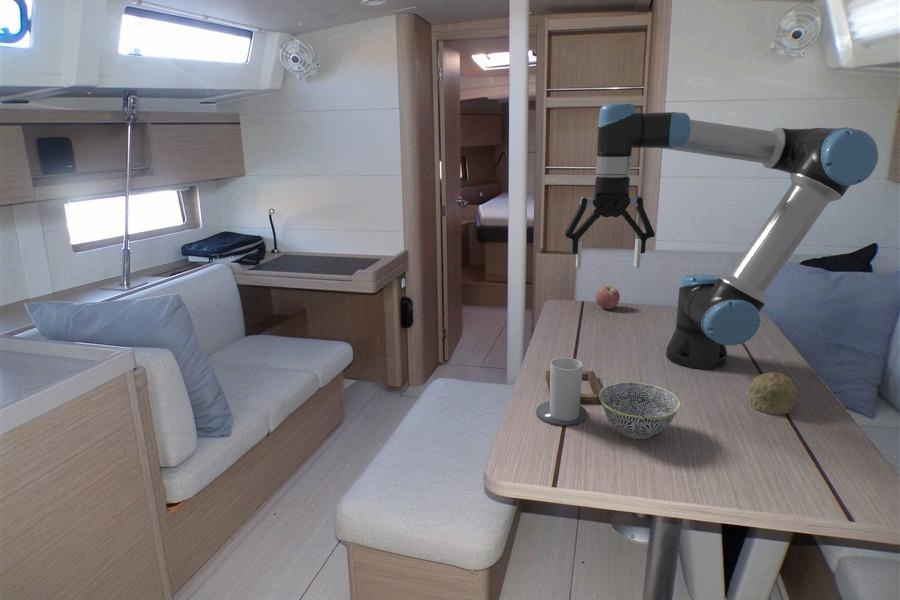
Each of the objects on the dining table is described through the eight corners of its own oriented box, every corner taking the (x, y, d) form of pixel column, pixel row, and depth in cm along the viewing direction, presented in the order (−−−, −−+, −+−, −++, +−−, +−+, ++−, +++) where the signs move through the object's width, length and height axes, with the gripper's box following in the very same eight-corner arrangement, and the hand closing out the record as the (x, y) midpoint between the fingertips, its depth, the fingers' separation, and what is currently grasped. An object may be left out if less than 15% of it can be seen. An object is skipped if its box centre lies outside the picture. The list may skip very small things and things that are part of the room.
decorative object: (760, 429, 131) (792, 403, 125) (730, 391, 137) (759, 365, 130) (783, 422, 136) (816, 397, 130) (753, 386, 142) (783, 360, 135)
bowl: (666, 459, 114) (670, 423, 112) (586, 437, 122) (587, 404, 120) (684, 424, 127) (688, 391, 124) (610, 407, 135) (612, 376, 133)
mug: (581, 422, 127) (584, 370, 123) (549, 421, 127) (551, 369, 124) (576, 401, 136) (578, 352, 133) (546, 400, 137) (548, 351, 134)
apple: (595, 311, 202) (596, 289, 200) (594, 305, 209) (595, 283, 207) (619, 312, 201) (621, 289, 199) (617, 306, 208) (619, 283, 206)
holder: (593, 376, 151) (593, 371, 151) (604, 403, 137) (605, 397, 136) (545, 376, 152) (545, 370, 151) (551, 402, 137) (552, 396, 137)
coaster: (582, 403, 137) (582, 400, 137) (590, 426, 126) (591, 423, 126) (534, 402, 138) (534, 400, 137) (538, 425, 127) (538, 423, 127)
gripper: (664, 173, 138) (656, 263, 144) (555, 174, 140) (552, 263, 146) (674, 176, 131) (665, 270, 137) (559, 177, 132) (555, 270, 138)
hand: (607, 267), depth 141 cm, fingers open, 13 cm apart
